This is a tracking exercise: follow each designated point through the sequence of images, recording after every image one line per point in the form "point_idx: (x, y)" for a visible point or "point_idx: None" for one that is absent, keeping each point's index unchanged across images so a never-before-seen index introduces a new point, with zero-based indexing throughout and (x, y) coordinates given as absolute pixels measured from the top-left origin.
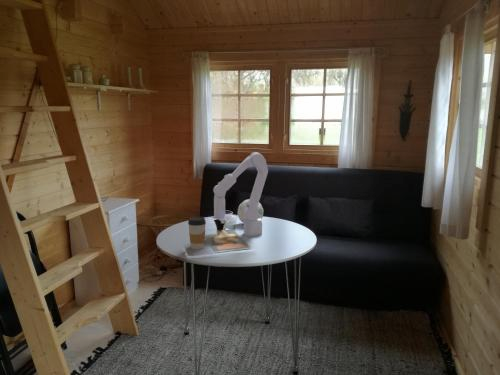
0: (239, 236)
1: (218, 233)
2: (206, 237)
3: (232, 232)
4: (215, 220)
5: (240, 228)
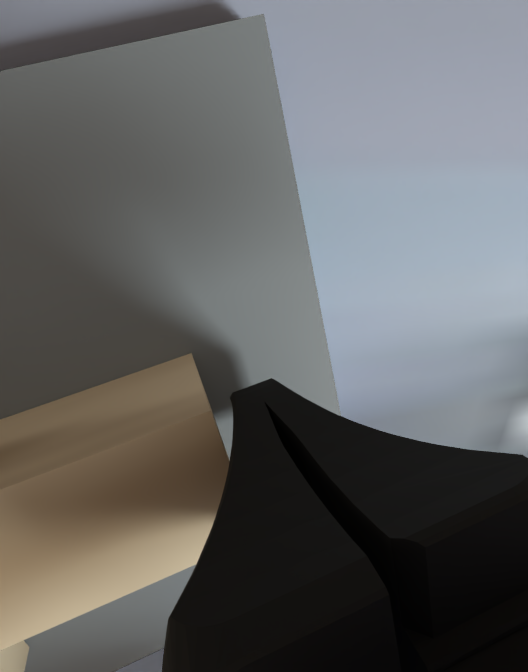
0: None
1: (33, 461)
2: (80, 135)
3: None
4: (458, 570)
5: None
